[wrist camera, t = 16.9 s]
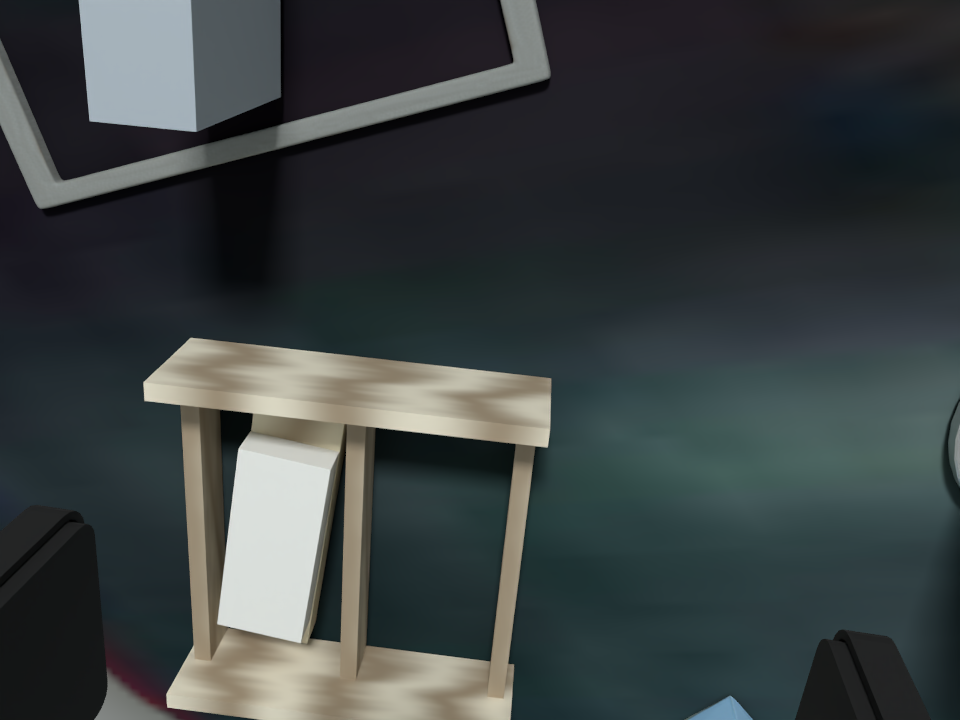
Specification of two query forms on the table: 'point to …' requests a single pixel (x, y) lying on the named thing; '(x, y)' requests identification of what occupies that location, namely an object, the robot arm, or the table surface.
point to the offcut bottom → (319, 436)
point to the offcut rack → (363, 407)
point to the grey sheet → (179, 60)
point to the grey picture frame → (10, 109)
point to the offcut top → (276, 535)
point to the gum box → (722, 711)
